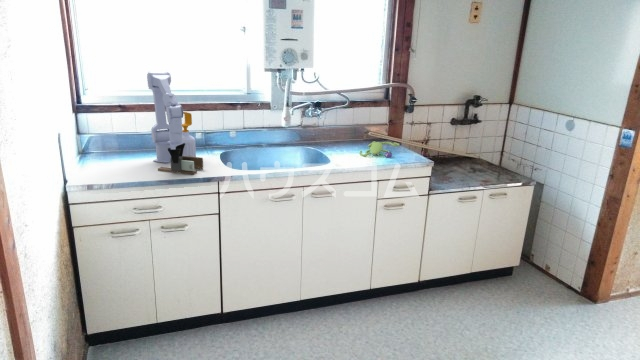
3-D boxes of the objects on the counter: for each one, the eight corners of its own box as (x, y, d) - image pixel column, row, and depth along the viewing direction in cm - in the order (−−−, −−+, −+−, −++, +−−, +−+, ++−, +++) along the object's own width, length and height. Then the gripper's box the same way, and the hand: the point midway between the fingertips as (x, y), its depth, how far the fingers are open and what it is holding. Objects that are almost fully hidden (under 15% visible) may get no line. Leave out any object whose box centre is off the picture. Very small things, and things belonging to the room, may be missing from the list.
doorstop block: (183, 168, 216) (182, 156, 214) (180, 171, 212) (180, 158, 210) (173, 168, 216) (172, 156, 214) (171, 170, 211) (170, 158, 210)
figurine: (400, 150, 271) (401, 141, 270) (389, 160, 248) (390, 150, 246) (370, 146, 278) (371, 137, 276) (357, 156, 254) (358, 146, 252)
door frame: (169, 165, 224) (169, 154, 223) (204, 168, 220) (203, 157, 218) (157, 170, 215) (157, 159, 213) (193, 174, 211) (193, 163, 209)
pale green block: (182, 169, 214) (182, 160, 213) (194, 170, 213) (193, 161, 211) (180, 170, 212) (180, 160, 211) (192, 171, 211) (192, 162, 209)
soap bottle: (174, 159, 234) (171, 111, 226) (185, 155, 242) (182, 109, 235) (188, 161, 231) (186, 113, 223) (199, 157, 239) (197, 110, 231)
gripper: (170, 128, 215) (172, 156, 219) (162, 135, 201) (164, 165, 205) (186, 129, 216) (187, 156, 220) (179, 135, 202) (180, 165, 206)
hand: (177, 160), depth 213 cm, fingers open, 7 cm apart
